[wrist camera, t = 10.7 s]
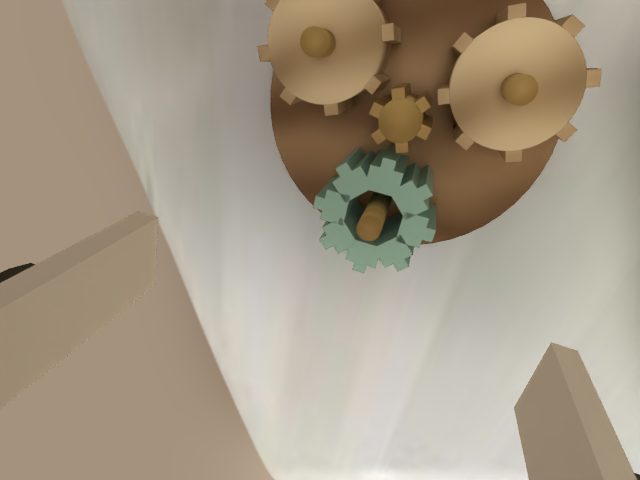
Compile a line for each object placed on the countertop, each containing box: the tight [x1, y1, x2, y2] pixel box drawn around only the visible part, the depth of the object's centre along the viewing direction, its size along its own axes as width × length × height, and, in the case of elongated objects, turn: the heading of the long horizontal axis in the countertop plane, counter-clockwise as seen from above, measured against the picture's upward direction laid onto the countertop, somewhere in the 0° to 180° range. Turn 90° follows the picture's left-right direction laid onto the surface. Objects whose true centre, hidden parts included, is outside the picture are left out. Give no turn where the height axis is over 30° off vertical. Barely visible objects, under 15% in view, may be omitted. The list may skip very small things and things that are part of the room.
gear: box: [313, 143, 437, 273], centre depth 29 cm, size 8×8×5 cm
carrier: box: [257, 0, 601, 244], centre depth 26 cm, size 19×19×8 cm
